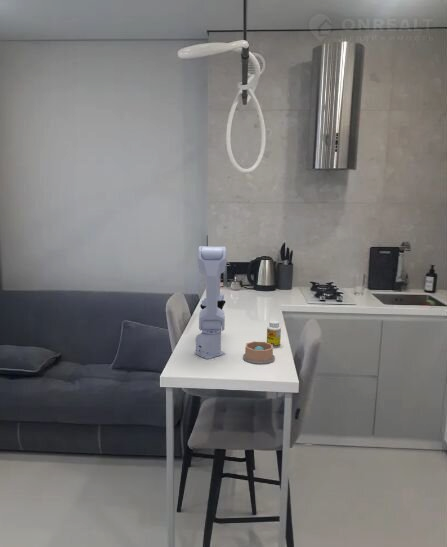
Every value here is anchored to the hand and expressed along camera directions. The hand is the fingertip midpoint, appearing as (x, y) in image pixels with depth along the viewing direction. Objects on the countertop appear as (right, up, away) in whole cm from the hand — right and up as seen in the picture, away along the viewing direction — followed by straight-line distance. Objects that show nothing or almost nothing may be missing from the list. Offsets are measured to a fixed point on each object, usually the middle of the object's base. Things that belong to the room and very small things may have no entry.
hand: (212, 319), depth 192 cm
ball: (+18, -10, -19) cm, 28 cm away
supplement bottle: (+25, -11, -3) cm, 27 cm away
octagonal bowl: (+18, -13, -18) cm, 29 cm away
